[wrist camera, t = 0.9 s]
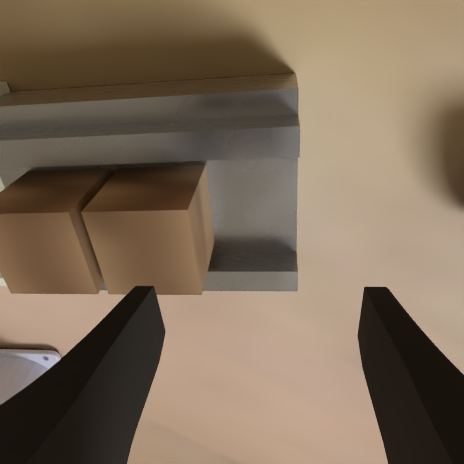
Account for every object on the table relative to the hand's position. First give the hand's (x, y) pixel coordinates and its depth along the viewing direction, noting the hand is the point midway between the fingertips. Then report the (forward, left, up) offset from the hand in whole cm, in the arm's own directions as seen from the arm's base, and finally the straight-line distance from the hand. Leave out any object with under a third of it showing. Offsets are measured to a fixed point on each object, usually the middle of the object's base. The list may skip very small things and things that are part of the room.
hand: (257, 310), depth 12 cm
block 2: (-5, 0, -7) cm, 8 cm away
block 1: (-9, 0, -7) cm, 11 cm away
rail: (-6, 0, -10) cm, 11 cm away
